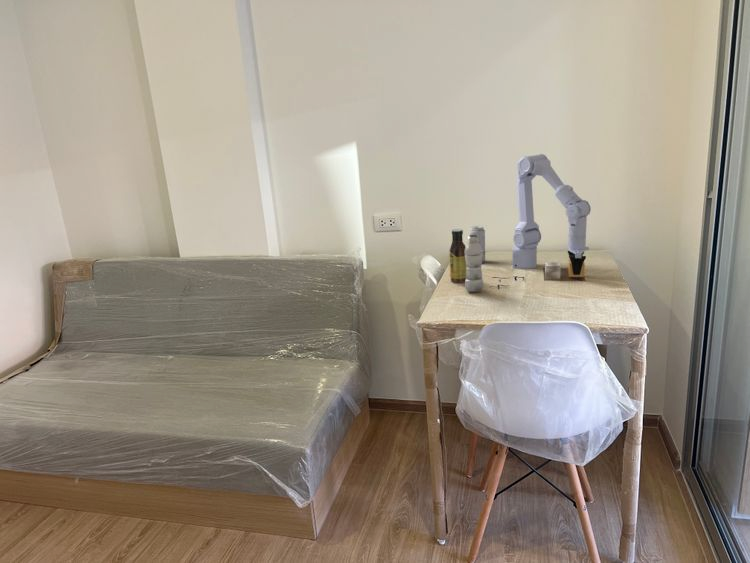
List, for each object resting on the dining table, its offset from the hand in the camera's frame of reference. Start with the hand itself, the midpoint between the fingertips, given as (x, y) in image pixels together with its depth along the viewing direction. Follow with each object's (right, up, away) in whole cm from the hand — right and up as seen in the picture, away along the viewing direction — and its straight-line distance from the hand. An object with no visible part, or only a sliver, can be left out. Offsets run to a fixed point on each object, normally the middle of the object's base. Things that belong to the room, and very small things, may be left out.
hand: (575, 272), depth 194 cm
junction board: (-3, -1, +6) cm, 6 cm away
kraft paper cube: (0, -1, 0) cm, 1 cm away
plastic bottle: (-37, -7, -2) cm, 38 cm away
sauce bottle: (-41, -3, +11) cm, 42 cm away
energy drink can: (-29, +5, +34) cm, 45 cm away
